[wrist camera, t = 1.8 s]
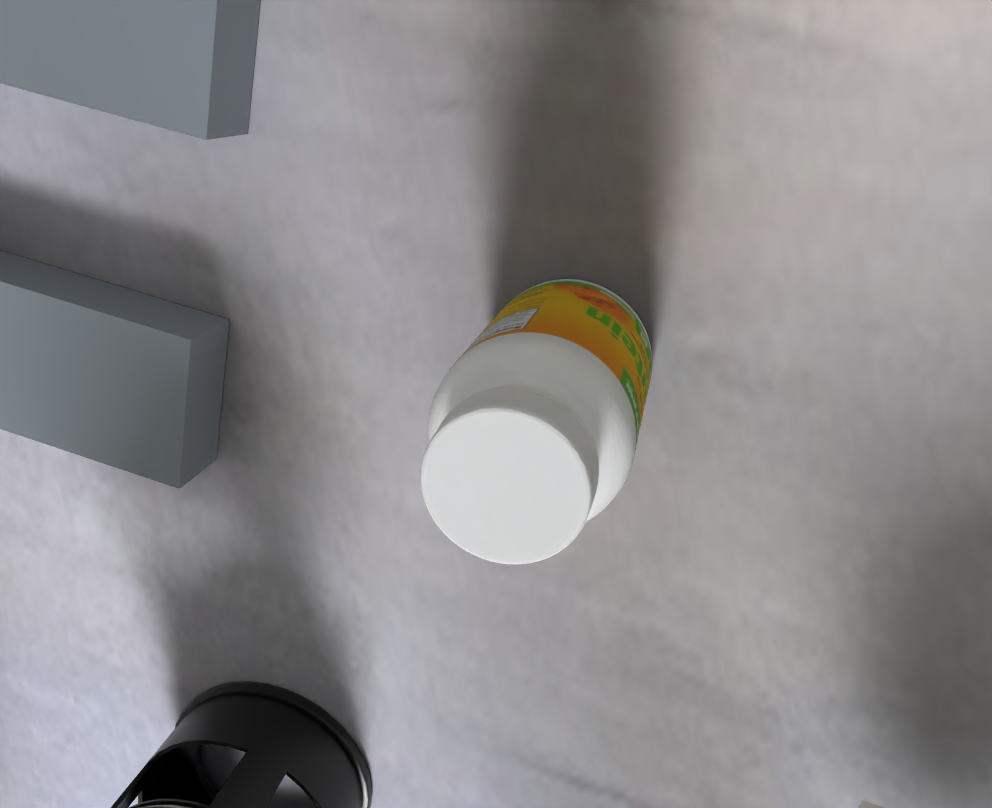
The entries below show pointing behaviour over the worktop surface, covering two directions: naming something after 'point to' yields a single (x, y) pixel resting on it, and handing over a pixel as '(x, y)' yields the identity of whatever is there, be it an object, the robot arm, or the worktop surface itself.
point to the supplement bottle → (537, 422)
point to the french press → (253, 753)
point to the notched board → (97, 304)
